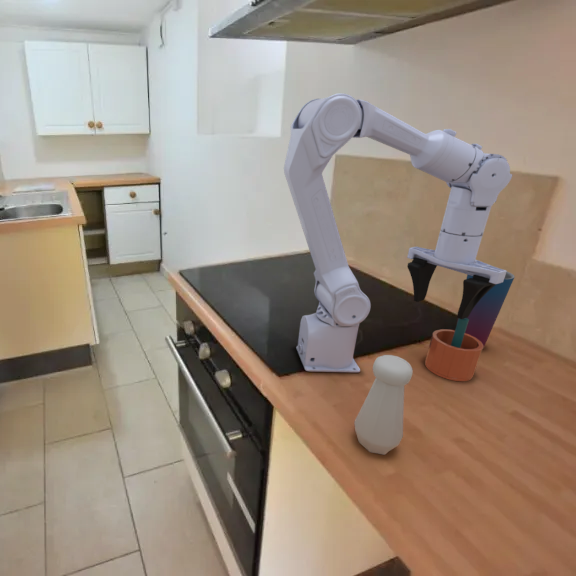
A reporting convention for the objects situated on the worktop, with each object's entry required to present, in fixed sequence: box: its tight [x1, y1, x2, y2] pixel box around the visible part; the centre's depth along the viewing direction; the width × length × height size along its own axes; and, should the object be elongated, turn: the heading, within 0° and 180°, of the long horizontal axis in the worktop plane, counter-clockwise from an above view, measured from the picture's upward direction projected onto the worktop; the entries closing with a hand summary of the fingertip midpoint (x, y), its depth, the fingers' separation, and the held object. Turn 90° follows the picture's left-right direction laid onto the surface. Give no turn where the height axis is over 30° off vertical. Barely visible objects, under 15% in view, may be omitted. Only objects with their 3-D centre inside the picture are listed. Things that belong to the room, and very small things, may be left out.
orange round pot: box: [424, 328, 484, 382], centre depth 66 cm, size 7×7×6 cm
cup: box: [455, 271, 515, 349], centre depth 72 cm, size 7×7×15 cm
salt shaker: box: [353, 354, 413, 456], centre depth 49 cm, size 6×6×13 cm
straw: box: [451, 318, 469, 348], centre depth 65 cm, size 1×1×10 cm
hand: (439, 308), depth 66 cm, fingers open, 7 cm apart
